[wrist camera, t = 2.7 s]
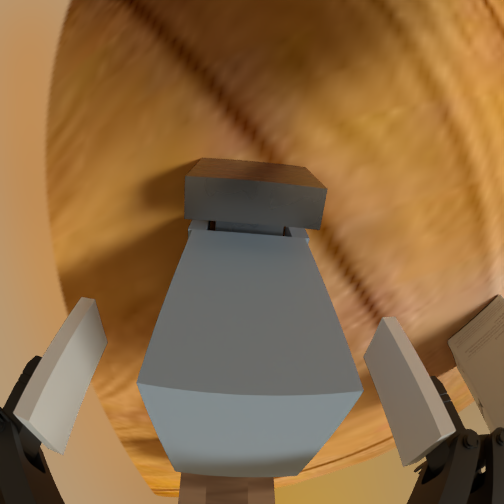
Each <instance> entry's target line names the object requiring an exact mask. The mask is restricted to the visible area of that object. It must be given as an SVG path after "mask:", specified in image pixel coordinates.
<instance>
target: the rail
mask: <svg viewBox="0 0 504 504" xmlns="http://www.w3.org/2000/svg"><path fill="white" fill-rule="evenodd" d="M326 194H327V188H326V187H325V186H324V185H323V184H322V183H321V182H320V181H319V180H318V179H317V178H316V177H315V176H314V175H313V174H312V173H311V172H310V171H309V170H308V169H307V168H305V167H299V166H291V165H283V164H274V163H264V162H253V161H242V160H228V159H212V158H202V159H201V160H200V161H199V162H198V163H197V164H196V165H195V166H194V167H193V168H192V169H191V170H190V171H189V172H188V174H187V175H186V176H185V214H184V219H195V220H210V221H216V228H215V231H224V232H237V233H250V234H263V235H275V236H282V235H283V229H284V226H285V227H296V228H306V229H317V230H320V225H321V220H322V215H323V210H324V205H325V199H326Z"/></svg>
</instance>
